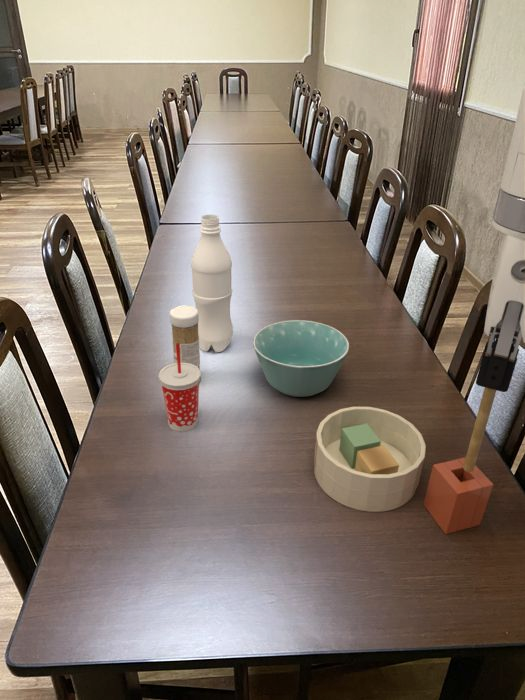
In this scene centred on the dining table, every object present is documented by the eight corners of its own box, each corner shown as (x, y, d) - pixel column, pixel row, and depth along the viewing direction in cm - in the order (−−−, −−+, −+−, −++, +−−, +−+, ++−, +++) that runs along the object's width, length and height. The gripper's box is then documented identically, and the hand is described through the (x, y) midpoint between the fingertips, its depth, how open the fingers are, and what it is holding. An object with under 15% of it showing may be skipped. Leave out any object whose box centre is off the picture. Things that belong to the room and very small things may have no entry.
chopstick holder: (455, 496, 71) (467, 456, 67) (480, 525, 67) (493, 484, 63) (423, 504, 70) (433, 464, 66) (445, 534, 66) (457, 493, 62)
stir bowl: (385, 430, 82) (390, 399, 79) (438, 498, 71) (447, 464, 67) (298, 449, 78) (301, 416, 75) (340, 523, 67) (345, 488, 64)
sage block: (364, 444, 78) (367, 423, 76) (377, 463, 75) (381, 441, 73) (339, 450, 77) (341, 428, 75) (351, 468, 74) (354, 446, 72)
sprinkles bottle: (173, 374, 94) (168, 305, 87) (199, 371, 95) (196, 303, 88) (176, 389, 90) (171, 318, 83) (203, 385, 91) (200, 315, 84)
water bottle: (194, 337, 105) (187, 211, 92) (230, 335, 106) (228, 210, 93) (196, 357, 99) (189, 225, 86) (235, 354, 100) (234, 223, 87)
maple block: (380, 467, 74) (384, 444, 72) (394, 487, 71) (399, 465, 69) (353, 472, 73) (357, 450, 71) (367, 494, 70) (371, 471, 68)
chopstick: (469, 464, 65) (505, 334, 55) (475, 471, 64) (513, 339, 54) (460, 466, 64) (496, 335, 55) (467, 473, 63) (504, 341, 54)
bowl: (235, 374, 95) (235, 333, 90) (306, 349, 102) (309, 311, 98) (287, 422, 83) (290, 378, 79) (363, 390, 91) (369, 349, 87)
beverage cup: (160, 413, 85) (152, 336, 77) (198, 406, 86) (194, 330, 79) (166, 438, 80) (159, 358, 72) (207, 430, 81) (203, 351, 74)
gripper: (588, 247, 41) (524, 435, 50) (586, 197, 52) (535, 357, 62) (483, 231, 43) (442, 412, 53) (504, 188, 55) (467, 342, 65)
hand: (492, 382), depth 57 cm, fingers closed on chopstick, 1 cm apart
